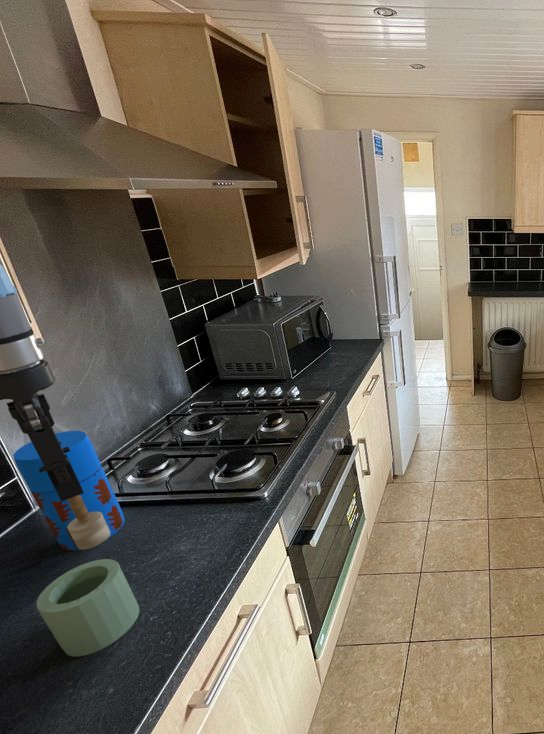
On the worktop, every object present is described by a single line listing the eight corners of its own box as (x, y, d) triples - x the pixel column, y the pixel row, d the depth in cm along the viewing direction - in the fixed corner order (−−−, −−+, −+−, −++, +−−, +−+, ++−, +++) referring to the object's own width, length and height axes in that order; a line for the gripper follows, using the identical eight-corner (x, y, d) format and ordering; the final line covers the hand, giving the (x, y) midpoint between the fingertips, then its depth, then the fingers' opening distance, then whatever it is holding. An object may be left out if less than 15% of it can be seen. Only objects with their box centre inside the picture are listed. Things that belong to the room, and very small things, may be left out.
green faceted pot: (67, 670, 69) (39, 625, 65) (59, 630, 75) (33, 587, 71) (145, 623, 76) (124, 580, 72) (132, 591, 82) (112, 549, 78)
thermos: (114, 513, 101) (73, 425, 92) (137, 528, 97) (97, 437, 87) (53, 545, 92) (2, 451, 83) (76, 563, 88) (24, 466, 78)
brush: (79, 553, 71) (32, 462, 64) (74, 540, 74) (29, 451, 67) (113, 538, 74) (72, 449, 67) (107, 526, 77) (67, 439, 70)
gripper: (52, 371, 60) (110, 500, 69) (40, 347, 68) (92, 465, 77) (-29, 390, 54) (45, 527, 63) (-32, 361, 63) (33, 486, 72)
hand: (71, 493), depth 70 cm, fingers closed on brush, 2 cm apart
